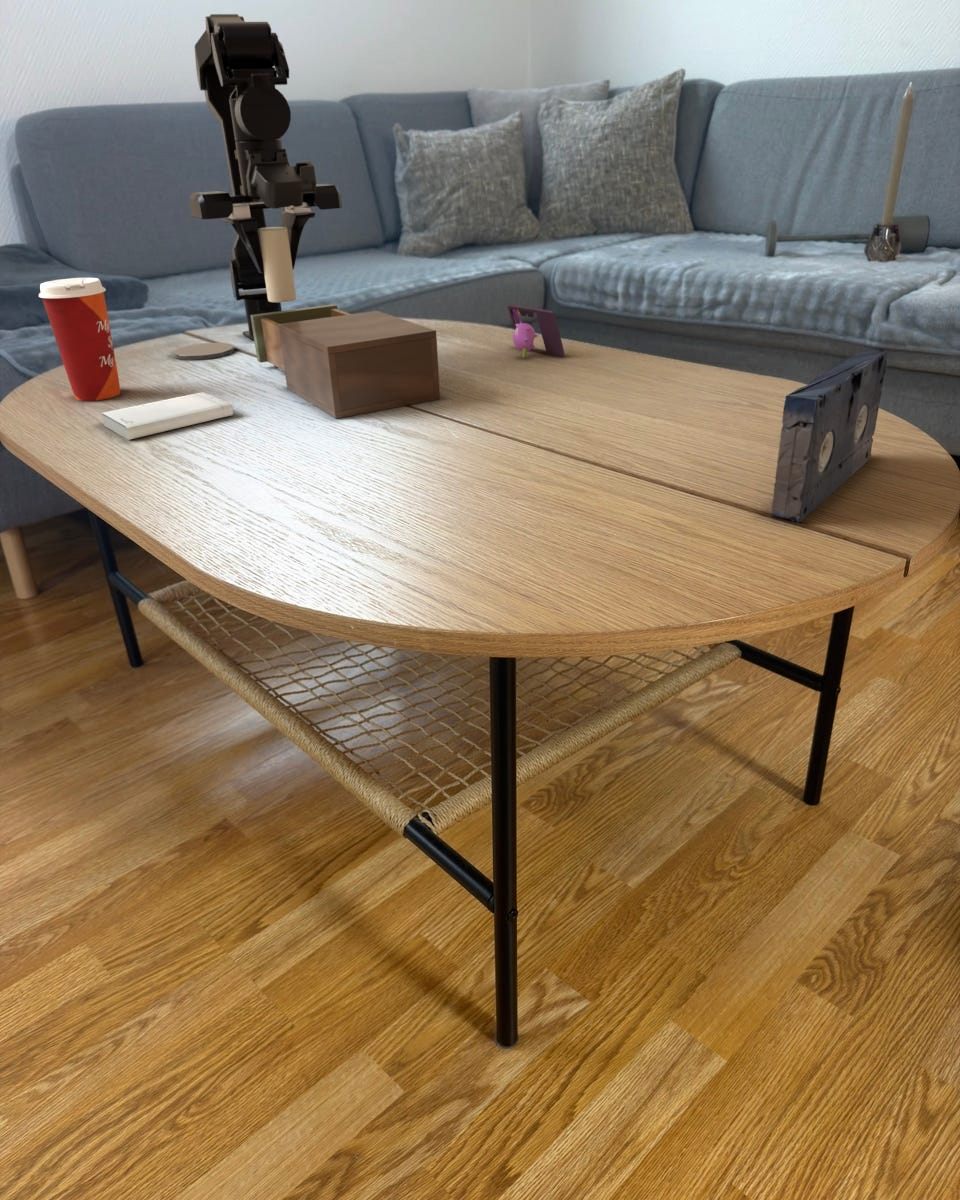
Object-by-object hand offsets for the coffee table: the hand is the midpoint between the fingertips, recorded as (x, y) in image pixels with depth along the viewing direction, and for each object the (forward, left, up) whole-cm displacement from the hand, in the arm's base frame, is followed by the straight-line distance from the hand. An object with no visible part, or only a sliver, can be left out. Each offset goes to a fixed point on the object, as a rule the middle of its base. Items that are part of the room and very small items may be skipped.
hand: (276, 271), depth 117 cm
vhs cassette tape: (+74, +23, -13) cm, 79 cm away
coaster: (-17, -8, -13) cm, 22 cm away
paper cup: (-1, -26, -13) cm, 29 cm away
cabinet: (+20, +2, -13) cm, 24 cm away
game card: (+16, +30, -13) cm, 37 cm away
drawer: (+4, +2, -12) cm, 13 cm away
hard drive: (+17, -21, -13) cm, 30 cm away
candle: (+1, 0, -4) cm, 4 cm away
